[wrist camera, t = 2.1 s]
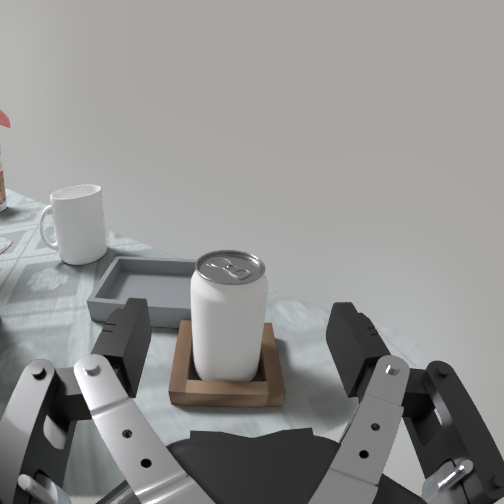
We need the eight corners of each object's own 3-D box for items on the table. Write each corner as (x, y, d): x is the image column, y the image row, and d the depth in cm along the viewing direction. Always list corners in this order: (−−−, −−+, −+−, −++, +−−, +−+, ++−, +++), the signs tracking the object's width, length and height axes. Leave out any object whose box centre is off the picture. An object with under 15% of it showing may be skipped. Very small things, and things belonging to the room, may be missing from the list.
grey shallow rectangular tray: (91, 320, 33) (86, 300, 32) (118, 273, 44) (116, 256, 42) (200, 329, 34) (199, 309, 33) (206, 277, 45) (206, 260, 44)
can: (223, 338, 33) (227, 241, 28) (269, 366, 30) (286, 265, 25) (181, 367, 29) (173, 264, 23) (229, 402, 25) (234, 297, 20)
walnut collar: (171, 403, 24) (168, 391, 23) (181, 333, 33) (180, 320, 32) (281, 405, 25) (285, 393, 24) (269, 335, 34) (271, 322, 33)
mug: (116, 254, 49) (110, 190, 44) (57, 277, 40) (43, 207, 35) (95, 239, 54) (89, 182, 49) (42, 257, 45) (32, 196, 40)
